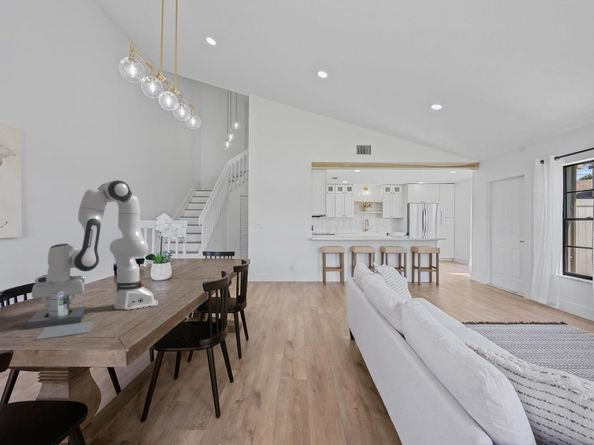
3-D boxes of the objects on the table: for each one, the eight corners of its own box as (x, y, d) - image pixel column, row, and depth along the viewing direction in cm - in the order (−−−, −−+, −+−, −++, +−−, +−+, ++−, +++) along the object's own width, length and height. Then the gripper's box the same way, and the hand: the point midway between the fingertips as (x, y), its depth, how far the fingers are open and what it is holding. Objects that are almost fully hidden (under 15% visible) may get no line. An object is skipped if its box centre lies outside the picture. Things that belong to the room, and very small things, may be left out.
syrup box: (58, 321, 147) (58, 291, 147) (48, 321, 148) (48, 291, 148) (69, 318, 152) (69, 289, 152) (59, 317, 153) (59, 288, 154)
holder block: (85, 311, 164) (85, 306, 164) (80, 322, 146) (80, 316, 146) (37, 317, 154) (37, 311, 154) (26, 329, 136) (26, 322, 136)
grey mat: (92, 322, 146) (92, 321, 146) (89, 332, 132) (89, 332, 132) (44, 328, 137) (44, 327, 137) (35, 340, 123) (35, 339, 123)
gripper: (85, 274, 158) (85, 301, 158) (34, 277, 148) (34, 306, 148) (84, 276, 152) (83, 304, 152) (30, 279, 143) (30, 309, 142)
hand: (58, 305), depth 150 cm, fingers closed on syrup box, 8 cm apart
